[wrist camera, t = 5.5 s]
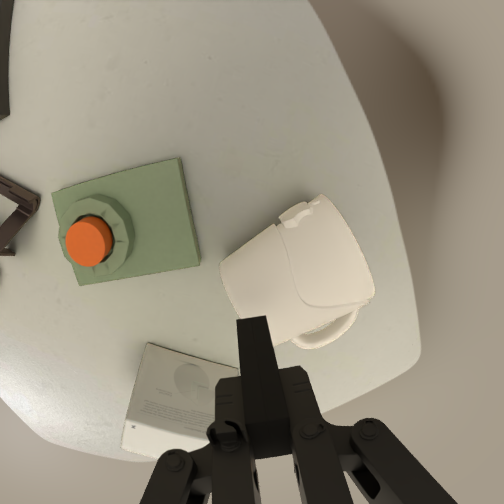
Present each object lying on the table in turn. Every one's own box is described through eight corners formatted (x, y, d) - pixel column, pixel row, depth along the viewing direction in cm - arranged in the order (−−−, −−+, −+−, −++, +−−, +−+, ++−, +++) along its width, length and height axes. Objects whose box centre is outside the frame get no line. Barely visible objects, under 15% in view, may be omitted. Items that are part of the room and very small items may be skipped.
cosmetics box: (137, 379, 31) (118, 450, 21) (147, 341, 29) (123, 417, 19) (220, 403, 33) (222, 474, 23) (239, 368, 31) (247, 446, 21)
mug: (214, 240, 26) (210, 281, 18) (309, 186, 25) (344, 205, 17) (278, 335, 30) (293, 390, 22) (358, 291, 29) (393, 335, 21)
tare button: (106, 211, 21) (97, 217, 19) (117, 254, 22) (110, 262, 21) (69, 221, 21) (59, 227, 19) (82, 262, 22) (73, 270, 20)
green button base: (180, 157, 23) (173, 159, 20) (201, 258, 26) (198, 274, 23) (60, 190, 23) (40, 197, 19) (86, 278, 26) (71, 295, 23)
